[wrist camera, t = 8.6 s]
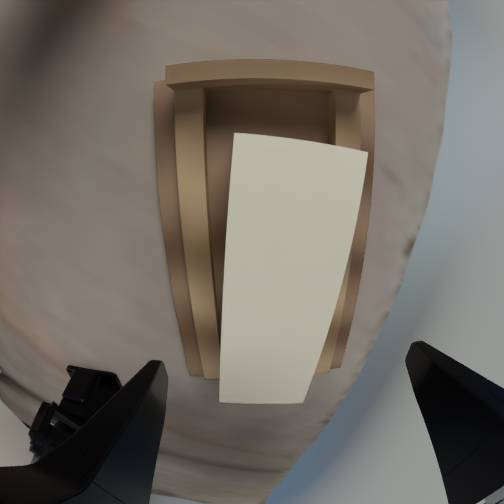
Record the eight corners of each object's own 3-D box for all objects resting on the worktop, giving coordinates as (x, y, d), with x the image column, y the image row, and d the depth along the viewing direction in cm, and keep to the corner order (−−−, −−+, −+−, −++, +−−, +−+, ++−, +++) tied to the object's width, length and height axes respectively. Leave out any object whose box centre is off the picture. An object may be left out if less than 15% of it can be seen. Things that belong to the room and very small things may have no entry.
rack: (336, 358, 23) (349, 392, 19) (191, 365, 23) (185, 402, 19) (365, 87, 14) (398, 77, 10) (159, 85, 14) (136, 71, 10)
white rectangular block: (289, 340, 20) (302, 402, 15) (223, 338, 20) (219, 402, 14) (323, 146, 15) (368, 152, 9) (236, 135, 14) (234, 132, 9)
